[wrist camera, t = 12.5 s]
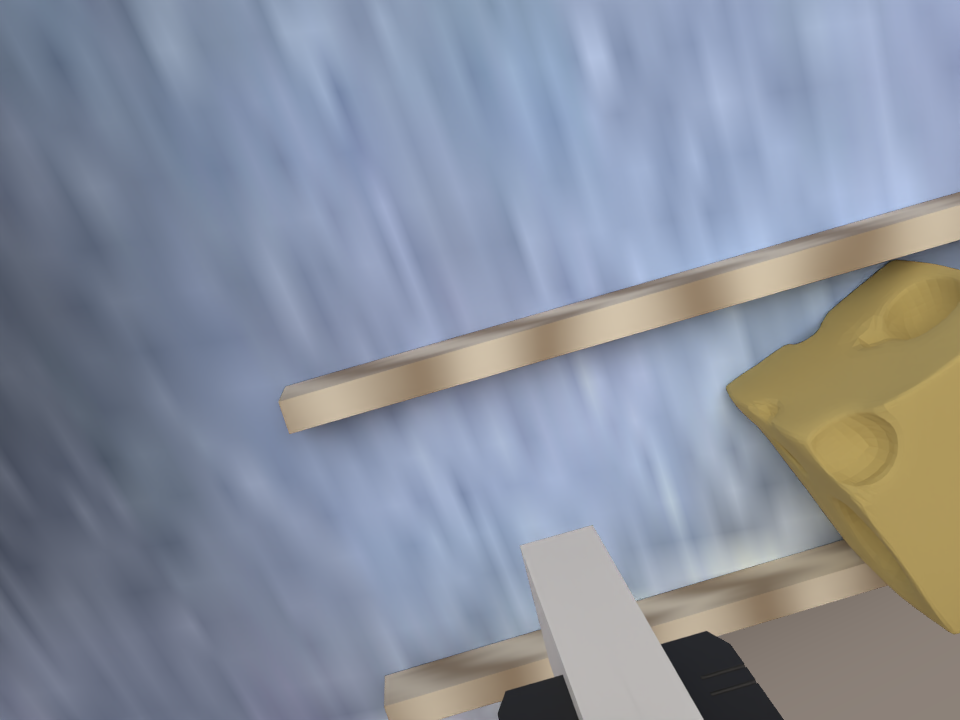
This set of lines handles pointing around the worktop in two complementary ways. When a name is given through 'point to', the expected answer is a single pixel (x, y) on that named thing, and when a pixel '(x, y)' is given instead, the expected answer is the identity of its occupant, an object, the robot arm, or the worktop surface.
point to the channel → (338, 395)
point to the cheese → (878, 427)
